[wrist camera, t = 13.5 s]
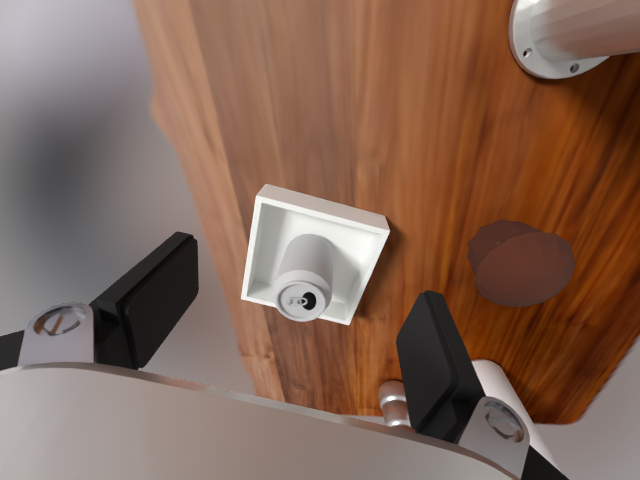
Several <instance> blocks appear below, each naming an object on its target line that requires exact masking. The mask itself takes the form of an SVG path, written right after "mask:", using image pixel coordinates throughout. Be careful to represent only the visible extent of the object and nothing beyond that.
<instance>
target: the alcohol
mask: <svg viewBox="0 0 640 480" xmlns="http://www.w3.org/2000/svg"><path fill="white" fill-rule="evenodd" d="M471 362H472V364H473V366H474V369H475V371H476V373H477V376H478V378H479V380H480V383H481V385H482V387H483V389H484V392H485V394H486V396H490V397H495V398H497V399H500V400H502V401H503V402H505V403H506V404H508V405H509V406H510V407H511V408H513V409H514V410H515V411H516V412H517V413H518V415H519V416H520V417H521V418H522V420H523V421H524V423H525V425H526V426H527V428H528V431H529V434H530V445H531V446H532V447H533V448H534V449H535V450H536V451H538V452H539V453H540V454H541V455H542V456H543V457H544V458H545V459H547V460H548V461H549V462H550V463H551V464H552V465H553V466H554V467H555V468H557V469H558V470H559V471H560V472H561V470H560V469H559V467H558V465H557V464H556V462H555V460H554V458H553V457H552V455H551V453H550V451H549V450H548V448H547V446H546V444H545V443H544V441H543V439H542V438H541V436H540V434H539V432H538V431H537V429H536V427H535V425H534V424H533V422H532V420H531V418H530V417H529V415H528V413H527V412H526V410H525V408H524V406H523V405H522V403H521V401H520V399H519V398H518V396H517V394H516V393H515V391H514V389H513V387H512V386H511V384H510V382H509V380H508V379H507V377H506V375H505V374H504V372H503V370H502V368H501V367H500V366H499V365H497V364H496V363H494V362H492V361H490V360H486V359H474V360H471ZM561 473H562V472H561Z"/></svg>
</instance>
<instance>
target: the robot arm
mask: <svg viewBox="0 0 640 480" xmlns="http://www.w3.org/2000/svg"><path fill="white" fill-rule="evenodd" d="M509 42H510V48H511V51H512V53H513V56H514V58H515V60H516V61H517V63H518V64H519V66H520V67H521V68H522V69H524V70H525V71H526V72H527V73H529V74H531V75H533V76H535V77H538V78H544V79H561V78H568V77H572V76H575V75H578V74H582V73H584V72H586V71H588V70H590V69H592V68H594V67H596V66H597V65H599V64H600V63H602V62H603V61H604V60H606V59H607V58H609V57H610V56H613V55H620V54H628V53H635V52H640V0H514V3H513V5H512V9H511V14H510V19H509ZM524 52H525V55H524V56H523V53H524ZM198 289H199V286H198V246H197V240H196V239H194V237H193V235H190V234H187V233H182V232H176V233H174V234H173V235H172V236H171V237H169V238H168V239H167V240H166V241H165V242H163V244H161V245H160V246H159V247H157V248H156V249H155V250H154V251H153V252H151V253H150V254H149V255H148V256H147V257H145V258H144V259H143V260H142V261H140V262H139V263H138V264H137V265H136V266H134V267H133V268H132V269H131V270H130V271H128V272H127V273H126V274H125V275H123V276H122V277H121V278H120V279H119V280H117V281H116V282H115V283H114V284H113V285H111V286H110V287H109V288H108V289H107V290H106V291H104V292H103V293H102V294H101V295H100V296H98V297H97V298H96V299H95V300H93V301H92V302H91V303H90V304H89V305H87V304H84V303H81V302H67V303H61V304H58V305H54V306H51V307H49V308H47V309H44V310H42V311H41V312H39V313H38V314H36V315H35V316H34V317H33V318H32V319H31V320H30V321H29V322H28V324H27V326H26V328H25V330H22V331H19V332H15V333H11V334H8V335H4V336H0V480H569V479H568V478H567V477H566V476H564V475H563V474H562V473H561V472H560V471H559V470H558V469H557V468H555V467H554V466H553V465H552V464H551V463H550V462H549V461H548V460H547V459H545V458H544V457H543V456H542V455H541V454H540V453H539V452H538V451H536V450H535V449H534V448H533V447H532V446H531V445H530V434H529V431H528V428H527V426H526V425H525V423H524V421H523V420H522V418H521V417H520V416H519V415H518V413H517V412H516V411H515V410H514V409H513V408H511V407H510V406H509V405H508V404H506V403H505V402H503V401H502V400H500V399H497V398H495V397H490V396H486V394H485V392H484V389H483V387H482V385H481V383H480V380H479V378H478V376H477V373H476V371H475V369H474V366H473V364H472V362H471V359H470V357H469V355H468V353H467V350H466V348H465V346H464V343H463V341H462V339H461V336H460V334H459V332H458V330H457V327H456V325H455V323H454V320H453V318H452V316H451V313H450V311H449V309H448V306H447V304H446V302H445V300H444V297H443V295H442V294H441V293H437V292H433V291H429V290H426V291H425V292H424V293H420V294H419V296H418V298H417V300H416V302H415V304H414V305H413V307H412V309H411V311H410V313H409V315H408V317H407V319H406V320H405V322H404V324H403V326H402V328H401V330H400V332H399V334H398V336H397V340H396V345H397V350H398V356H399V362H400V368H401V374H402V379H403V385H404V391H405V397H406V403H407V409H408V414H409V420H410V425H411V428H412V429H414V430H415V432H416V433H413V432H409V431H405V430H401V429H397V428H393V427H389V426H384V425H380V424H376V423H372V422H367V421H363V420H358V419H354V418H350V417H346V416H341V415H337V414H333V413H328V412H324V411H320V410H315V409H311V408H307V407H302V406H298V405H293V404H289V403H285V402H280V401H276V400H271V399H267V398H262V397H258V396H253V395H249V394H245V393H240V392H236V391H231V390H226V389H222V388H217V387H213V386H208V385H204V384H199V383H195V382H190V381H186V380H180V379H177V378H172V377H167V376H163V375H158V374H153V373H147V372H142V371H138V368H139V367H140V368H143V367H144V366H145V365H146V364H147V363H148V362H149V360H150V359H151V357H152V356H153V355H154V353H155V352H156V351H157V349H158V348H159V347H160V345H161V344H162V343H163V341H164V340H165V339H166V337H167V336H168V334H169V333H170V331H171V330H172V329H173V328H174V326H175V325H176V323H177V322H178V321H179V320H180V318H181V317H182V315H183V314H184V313H185V311H186V310H187V309H188V307H189V306H190V305H191V303H192V302H193V301H194V299H195V298H196V296H197V294H198Z"/></svg>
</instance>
